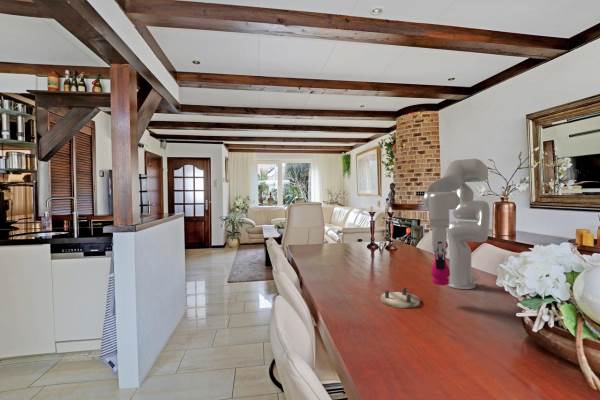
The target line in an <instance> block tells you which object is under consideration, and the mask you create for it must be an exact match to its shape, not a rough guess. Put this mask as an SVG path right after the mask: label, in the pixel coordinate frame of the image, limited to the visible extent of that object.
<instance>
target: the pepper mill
mask: <svg viewBox="0 0 600 400" xmlns="http://www.w3.org/2000/svg"><path fill="white" fill-rule="evenodd" d="M448 246H449V242H448V241H447V240H446V252H444V259H445V269H444V270H442V269H436V259H437V257H436V251H434V252H433V251H432V252H433V255H434V261H433V263H432V266H431V268H430V274H431V276H432V278H431V281H432V284H434V285H438V286H447V285H448V284H449V281H450V266H449V265H448V264H447V261H446V255H447V249H448V248H449V247H448ZM437 251H439V250H437ZM442 252H443V250H442ZM438 254H439V253H438Z"/></svg>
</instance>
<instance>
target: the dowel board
mask: <svg viewBox="0 0 600 400" xmlns="http://www.w3.org/2000/svg"><path fill="white" fill-rule="evenodd" d="M401 288H402V289H401V290H402V291H401V292H400V291H395V292H394V291H389V290H388V289H384V293H382V294H381V295H380V296H379V297H380V299H379V300H380V303H382V304H383V305H385V306H388V307H393V308H399V309H414V308H417V307H419V306H420V305H421V298H420V297H419V296H417V295H415V294H412V293H408V292H407V287H405V286H403V287H401Z"/></svg>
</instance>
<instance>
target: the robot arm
mask: <svg viewBox="0 0 600 400" xmlns="http://www.w3.org/2000/svg"><path fill="white" fill-rule="evenodd" d="M488 177H489V169H488V166H487V165H486V164H485V163H484V161H482V160H481V159H477V158H467V159H456V160H453V161H451V162H450V163H449V165H447V169H446V171H445V173H444V175H443V177H440V178H438V179H437V180H435V181H433V182H432V183H431V184H429V185H428V186H427V188H426V190H425V191H424V194H423V198H422V204H423V206H424V208H426V209H428V219H429V220H428V221H429V222H428V223H429V228H431V250H432V252H434V251H436V257H437V259H436V269H442V270H444V269H445V260H446V258H445V259H444V252H446V251H447V249H446V241H447V239H448V246H449V247H448V248H449V249H448V250H449V253H448V254H449V255H448V256H449V270H450V276H449V284H448V285H446V286H447V287H449V288H453V289H458V290H473V289H476V284H475V283H474V282H477V281H478V280H479V277H478V276H477V275H475V276H472V249H471V247H470V245H469V244H468V243H467V242H471V243H474V242H475V243H485V242H486V241H487V240H488V238H489V231H490V230H489V229H490V217H491V214H490V213H491V212H490V211H491V210H490V209H491V208H490V206H489V203H488V202H487V201H485V200H474V196H475V193H474V190H473V189H472V188H471V187H470V186H469V185H468V184H467V183H477V182H479V183H480V182H484V181H486V180H487V179H488ZM450 210H452V215H453V217H454V219H457V220H454V221H451V222H450ZM447 236H448V238H447ZM437 250H439V251H437ZM442 250H443V252H442ZM438 253H439V254H438ZM446 253H447V252H446Z"/></svg>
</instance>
